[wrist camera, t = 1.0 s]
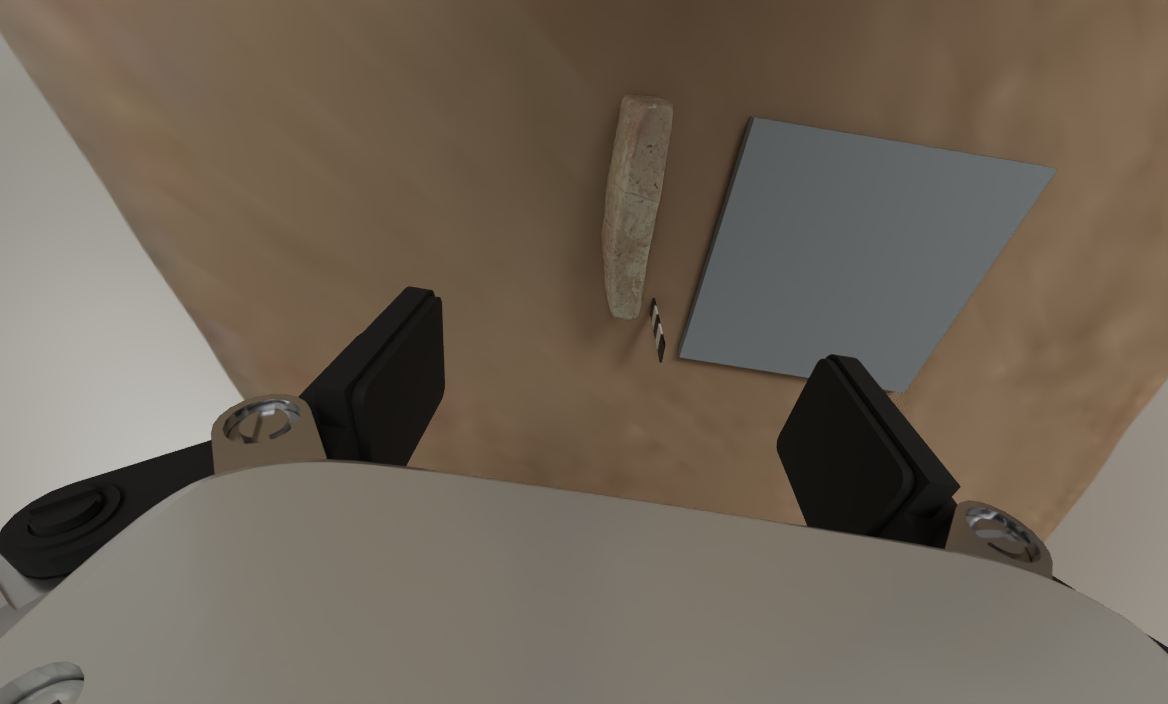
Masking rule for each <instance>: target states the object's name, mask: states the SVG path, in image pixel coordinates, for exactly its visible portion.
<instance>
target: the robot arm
mask: <svg viewBox="0 0 1168 704" xmlns="http://www.w3.org/2000/svg"><path fill="white" fill-rule="evenodd" d="M444 389H445V374H444V347H443V319H442V301H441V298H440V297H435V295H434V292H433V291H432V290H428V289H421V288H415V287H407V288H405V289H404V290H403V291H402V292H401V294H400V295H399V296H398V297H397V298H396V299H395V300H394V301H393V302H392V303H391V304H390V305H389V306H388V307H387V308H386V309H385V310H384V311H383V312H382V313H381V314H380V315H379V316H378V317H377V318H376V319H375V320H374V321H373V323H372V324H371V325H370V326H369V327H368V328H367V329H366V330H365V331H364V332H363V333H361V334H360V335H358V336H357V337H356V338H355V339H354V340H353V341H352V342H351V343H350V344H349V345H348V346H347V347H346V348H345V349H344V350H343V351H342V352H341V353H340V354H339V355H338V357H337V358H336V359H335V360H334V361H333V362H332V363H331V364H330V365H329V366H328V367H327V368H326V369H325V370H324V371H323V372H322V373H321V374H320V375H319V376H318V377H317V378H316V379H315V380H314V381H313V382H312V383H311V384H310V385H309V386H308V387H307V388H306V389H305V390H304V391H303V393H302V394H301V395H300V396H299V397H296V396H291V395H287V394H270V395H264V396H258V397H255V398H252V399H248V400H245V401H243V402H241V403H239V404H237V405H235V406H233V407H231V408H229V409H228V410H227V411H225V412H224V413H223V414H221V415H220V416H219V418H218V419H217V420H216V421H215V423H214V424H213V427H212V432H211V438H212V440H210V441H207V442H204V443H201V444H197V445H194V446H191V447H188V448H185V449H181V450H178V451H175V452H172V453H168V454H165V455H162V456H159V457H155V458H152V459H149V460H146V461H143V462H140V463H137V464H133V465H130V466H127V467H123V468H120V469H117V470H114V471H111V472H108V473H104V474H101V475H98V476H95V477H91V478H88V479H85V480H82V481H79V482H75V483H72V484H70V485H67V486H64V487H62V488H59V489H57V490H54V491H51V492H49V493H47V494H46V495H44V496H42V497H40V498H39V499H36V500H35V501H33V502H31V503H30V504H28V505H27V506H26V507H24V508H23V509H21V510H20V511H19V512H17V513H16V514H15V515H14V516H13V517H12V518H11V519H10V520H9V521H8V522H7V523H6V524H5V526H4V527H3V528H2V529H1V532H0V704H1168V647H1166V646H1165V645H1163V644H1162V643H1160V642H1158V641H1157V640H1155V639H1154V638H1152V637H1150V636H1149V635H1147V634H1145V633H1144V632H1143V631H1142V630H1141V629H1140V628H1138V627H1137V626H1136V625H1134V624H1133V623H1132V622H1131V621H1129V620H1128V619H1126V618H1125V617H1123V616H1122V615H1120V614H1119V613H1117V612H1115V611H1113V610H1111V609H1110V608H1108V607H1106V606H1105V605H1103V604H1101V603H1099V602H1098V601H1096V600H1094V599H1092V598H1090V597H1088V596H1086V595H1084V594H1082V593H1080V592H1078V591H1076V590H1075V589H1073V588H1072V587H1070V586H1068V585H1067V584H1065V583H1063V582H1062V581H1060V580H1058V579H1057V578H1056V577H1054V576H1052V570H1053V568H1052V567H1053V562H1052V558H1051V554H1050V552H1049V550H1048V549H1047V547H1046V546H1045V544H1044V543H1043V541H1042V540H1041V539H1040V538H1039V537H1038V536H1037V535H1036V534H1035V533H1034V532H1033V531H1032V530H1031V529H1029V528H1028V527H1027V526H1026V525H1024V524H1023V523H1022V522H1021V521H1019V520H1018V519H1016V518H1014V517H1013V516H1011V515H1010V514H1008V513H1006V512H1005V511H1003V510H1000V509H998V508H996V507H994V506H992V505H989V504H986V503H982V502H979V501H970V500H967V501H963V502H960V503H959V504H958V505H957V503H956V502H955V501H954V499H953V498H952V496H953V495H954V494H955V492H956V491H957V490H958V489H959V488H960V487H961V486H960V485H959V484H958V483H957V482H956V480H955V479H954V478H953V477H952V475H951V474H950V473H949V472H948V470H947V469H946V468H945V467H944V465H943V464H942V463H941V462H940V460H939V459H938V458H937V457H936V455H935V454H934V453H933V452H932V450H931V449H930V448H929V447H928V445H927V444H926V443H925V442H924V440H923V439H922V438H921V437H920V435H919V434H918V433H917V432H916V431H915V429H914V428H913V427H912V426H911V424H910V423H909V422H908V421H907V419H906V418H905V417H904V416H903V414H902V413H901V412H900V411H899V409H898V408H897V407H896V406H895V404H894V403H893V402H892V401H891V399H890V398H889V397H888V396H887V394H886V393H885V392H884V391H883V389H882V388H881V387H880V386H879V384H878V383H877V382H876V381H875V380H874V378H873V377H872V376H871V375H870V373H869V372H868V371H867V370H866V368H865V367H864V366H863V365H862V363H861V362H860V361H859V360H858V359H857V358H854V357H847V356H841V355H835V354H830V355H828V356H827V357H826V358H825V359H820V360H819V361H818V362H817V364H816V366H815V367H814V369H813V371H812V373H811V375H810V377H809V379H808V381H807V383H806V385H805V387H804V389H803V390H802V392H801V394H800V396H799V398H798V400H797V402H796V404H795V406H794V408H793V410H792V412H791V414H790V415H789V417H788V419H787V421H786V423H785V425H784V427H783V429H782V431H781V433H780V435H779V437H778V439H777V451H778V454H779V457H780V459H781V462H782V464H783V467H784V469H785V472H786V474H787V477H788V479H789V482H790V484H791V486H792V489H793V491H794V494H795V496H796V499H797V501H798V504H799V506H800V509H801V511H802V514H803V516H804V519H805V521H806V524H807V526H801V525H795V524H789V523H782V522H776V521H770V520H763V519H757V518H750V517H744V516H737V515H731V514H725V513H718V512H711V511H705V510H698V509H692V508H685V507H679V506H672V505H666V504H659V503H653V502H646V501H639V500H633V499H626V498H620V497H613V496H606V495H600V494H593V493H587V492H580V491H573V490H566V489H560V488H553V487H546V486H539V485H532V484H526V483H519V482H512V481H505V480H498V479H492V478H485V477H478V476H471V475H464V474H458V473H451V472H444V471H437V470H430V469H424V468H416V467H407V466H406V465H407V463H408V461H409V460H410V458H411V456H412V454H413V452H414V450H415V448H416V447H417V445H418V443H419V441H420V439H421V437H422V435H423V433H424V432H425V430H426V428H427V426H428V424H429V422H430V420H431V419H432V417H433V415H434V413H435V411H436V409H437V407H438V406H439V404H440V402H441V400H442V398H443V394H444Z"/></svg>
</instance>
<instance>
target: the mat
mask: <svg viewBox="0 0 1168 704" xmlns="http://www.w3.org/2000/svg"><path fill="white" fill-rule="evenodd" d="M1056 171H1057V169H1055V168H1051V167H1047V166H1042V165H1036V164H1030V163H1024V162H1018V161H1012V160H1006V159H1000V158H994V157H988V156H983V155H977V154H971V153H965V152H959V151H953V150H947V149H941V148H935V147H929V146H923V145H917V144H911V143H906V142H900V141H894V140H888V139H882V138H876V137H870V136H864V135H858V134H852V133H846V132H840V131H834V130H829V129H823V128H817V127H811V126H805V125H799V124H793V123H787V122H781V121H775V120H769V119H763V118H757V117H752V116H750V119H749V122H748V126H747V129H746V132H745V135H744V139H743V142H742V145H741V148H740V152H739V155H738V158H737V161H736V165H735V168H734V171H733V174H732V178H731V181H730V184H729V187H728V190H727V194H726V197H725V200H724V203H723V207H722V210H721V213H720V216H719V220H718V223H717V226H716V229H715V233H714V236H713V239H712V242H711V246H710V249H709V252H708V255H707V259H706V262H705V265H704V268H703V272H702V275H701V278H700V281H699V284H698V288H697V291H696V294H695V297H694V301H693V304H692V307H691V310H690V314H689V317H688V320H687V323H686V327H685V330H684V333H683V336H682V340H681V343H680V346H679V349H678V353H679V357H680V358H686V359H693V360H699V361H705V362H712V363H718V364H724V365H731V366H737V367H743V368H749V369H756V370H762V371H768V372H775V373H781V374H787V375H794V376H800V377H806V378H809V377H810V375H811V373H812V371H813V369H814V367H815V366H816V364H817V362H818V361H819V360H820V359H825V358H826V357H827V356H828V355H830V354H835V355H841V356H847V357H854V358H857V359H858V360H859V361H860V362H861V363H862V365H863V366H864V367H865V368H866V370H867V371H868V372H869V373H870V375H871V376H872V377H873V378H874V380H875V381H876V382H877V383H878V384H879V386H880V387H881V388H882V389H883V390H888V391H895V392H901V393H905V391H906V390H907V388H908V387H909V385H910V384H911V382H912V381H913V379H914V378H915V377H916V375H917V374H918V372H919V371H920V369H921V368H922V366H923V365H924V363H925V362H926V360H927V359H928V358H929V356H930V355H931V353H932V352H933V350H934V349H935V347H936V346H937V344H938V343H939V341H940V340H941V339H942V337H943V336H944V334H945V333H946V331H947V330H948V328H949V327H950V325H951V324H952V322H953V321H954V320H955V318H956V317H957V315H958V314H959V312H960V311H961V309H962V308H963V306H964V305H965V303H966V302H967V301H968V299H969V298H970V296H971V295H972V293H973V292H974V290H975V289H976V287H977V286H978V284H979V283H980V282H981V280H982V279H983V277H984V276H985V274H986V273H987V271H988V270H989V268H990V267H991V266H992V264H993V263H994V261H995V260H996V258H997V257H998V255H999V254H1000V252H1001V251H1002V249H1003V248H1004V247H1005V245H1006V244H1007V242H1008V241H1009V239H1010V238H1011V236H1012V235H1013V233H1014V232H1015V230H1016V229H1017V228H1018V226H1019V225H1020V223H1021V222H1022V220H1023V219H1024V217H1025V216H1026V214H1027V213H1028V211H1029V210H1030V209H1031V207H1032V206H1033V204H1034V203H1035V201H1036V200H1037V198H1038V197H1039V195H1040V194H1041V192H1042V191H1043V190H1044V188H1045V187H1046V185H1047V184H1048V182H1049V181H1050V179H1051V178H1052V176H1053V175H1054V174H1055V172H1056Z"/></svg>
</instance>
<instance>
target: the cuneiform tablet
mask: <svg viewBox="0 0 1168 704" xmlns="http://www.w3.org/2000/svg"><path fill="white" fill-rule="evenodd" d="M673 109H674V108H673V105H672V103H671V102H670V101H668V100H666V99H662V98H658V97H655V96H649V95H637V94H626V95H625V96H624V97H623V99H622V102H621V107H620V114H619V120H618V126H617V132H616V137H615V141H614V147H613V153H612V158H611V163H610V169H609V174H608V179H607V186H606V197H605V211H604V218H603V226H602V250H603V266H604V271H605V272H604V282H605V291H606V295H607V300H608V304H609V308H610V311H611V314H612V315H613V317H615V318H623V319H625V320H633V319H636V318H637V317H638V316H639V314H640V310H641V305H642V300H643V292H644V283H645V273H646V269H647V263H648V257H649V251H650V245H651V241H652V237H653V232H654V228H655V222H656V214H657V210H658V206H659V203H660V200H661V191H662V186H663V178H664V173H665V169H666V163H667V151H668V146H669V141H670V137H671V128H672V119H673ZM650 316H651V321H652V326H653V331H654V336H655V341H656V346H657V351H658V356H659V361H660V362H662V359H663V354H664V350H665V340H664V336H663V332H662V327H661V323H660V319H659V315H658V310H657V306H656V302H655V298H653V300H652V306H651V311H650Z"/></svg>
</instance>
